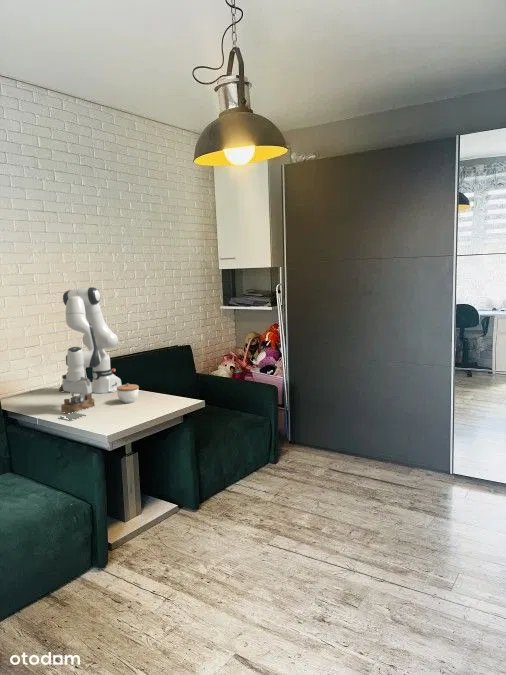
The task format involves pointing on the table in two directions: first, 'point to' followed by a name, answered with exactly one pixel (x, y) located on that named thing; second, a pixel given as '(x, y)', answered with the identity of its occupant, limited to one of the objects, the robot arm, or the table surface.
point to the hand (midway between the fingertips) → (77, 400)
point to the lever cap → (76, 399)
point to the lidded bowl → (128, 393)
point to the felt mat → (73, 416)
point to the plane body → (77, 404)
